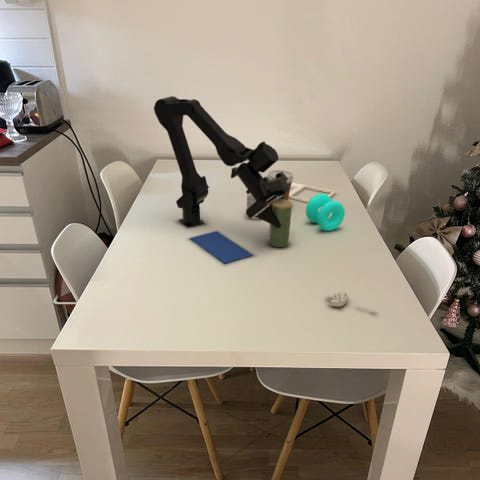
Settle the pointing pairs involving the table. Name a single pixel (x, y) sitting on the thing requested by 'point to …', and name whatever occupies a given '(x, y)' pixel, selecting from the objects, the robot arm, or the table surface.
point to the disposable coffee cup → (290, 178)
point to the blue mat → (221, 247)
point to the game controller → (339, 299)
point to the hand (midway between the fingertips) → (284, 223)
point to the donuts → (325, 212)
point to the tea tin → (283, 214)
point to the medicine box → (250, 202)
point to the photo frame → (297, 187)
